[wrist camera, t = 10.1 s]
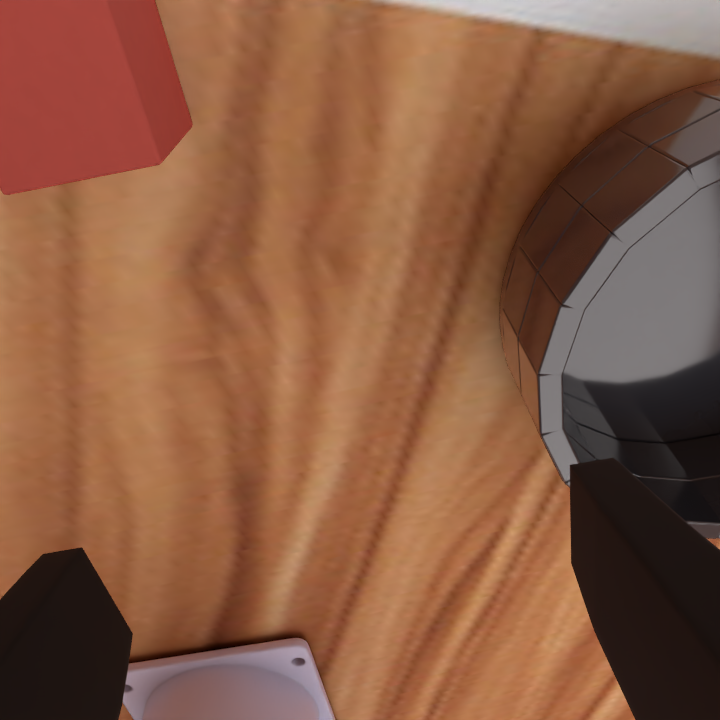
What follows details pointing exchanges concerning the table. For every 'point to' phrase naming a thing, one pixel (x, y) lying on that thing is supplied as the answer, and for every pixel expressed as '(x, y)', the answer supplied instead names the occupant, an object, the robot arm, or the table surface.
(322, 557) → the table surface
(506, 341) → the pot
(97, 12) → the brick red cuboid
